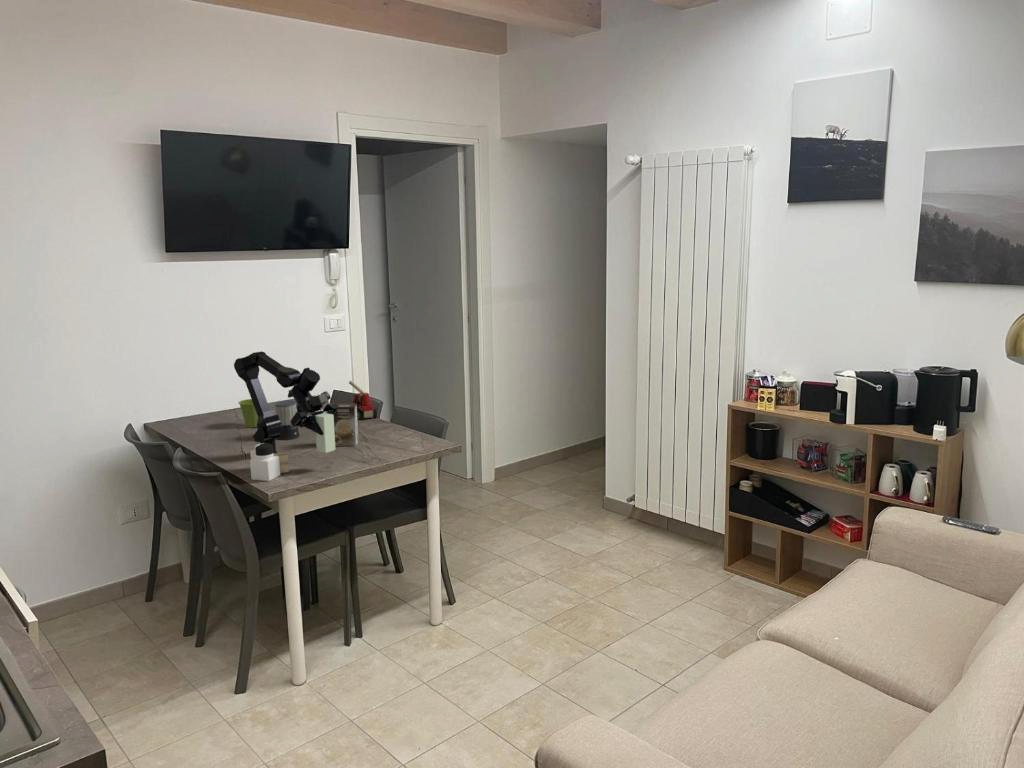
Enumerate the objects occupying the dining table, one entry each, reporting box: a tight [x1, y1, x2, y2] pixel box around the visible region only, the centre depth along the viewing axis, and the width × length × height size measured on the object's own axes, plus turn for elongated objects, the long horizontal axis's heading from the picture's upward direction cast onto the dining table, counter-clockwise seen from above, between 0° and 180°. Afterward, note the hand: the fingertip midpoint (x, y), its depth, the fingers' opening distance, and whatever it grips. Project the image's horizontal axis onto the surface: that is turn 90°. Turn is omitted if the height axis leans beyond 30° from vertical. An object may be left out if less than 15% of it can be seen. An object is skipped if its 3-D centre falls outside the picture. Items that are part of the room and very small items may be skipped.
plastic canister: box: [249, 448, 256, 460], centre depth 275 cm, size 5×5×7 cm
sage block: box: [315, 413, 336, 454], centre depth 273 cm, size 5×5×13 cm
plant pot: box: [237, 398, 258, 429], centre depth 337 cm, size 12×12×11 cm
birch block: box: [273, 452, 290, 474], centre depth 273 cm, size 5×5×6 cm
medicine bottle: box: [249, 443, 281, 482], centre depth 265 cm, size 7×7×12 cm
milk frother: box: [274, 399, 303, 441], centre depth 320 cm, size 14×16×15 cm
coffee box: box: [334, 403, 359, 447], centre depth 306 cm, size 9×6×16 cm
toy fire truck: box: [348, 380, 378, 421], centre depth 352 cm, size 11×16×18 cm
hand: (327, 433), depth 272 cm, fingers closed on sage block, 5 cm apart
